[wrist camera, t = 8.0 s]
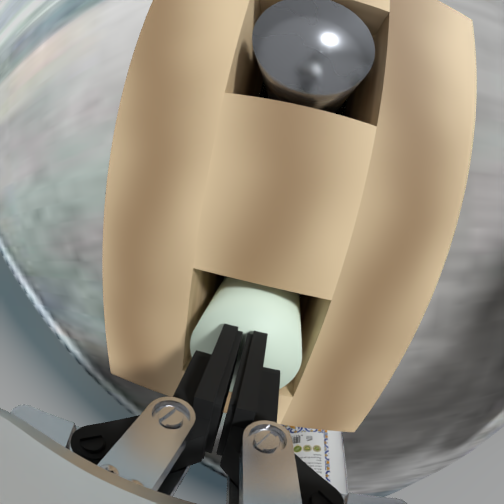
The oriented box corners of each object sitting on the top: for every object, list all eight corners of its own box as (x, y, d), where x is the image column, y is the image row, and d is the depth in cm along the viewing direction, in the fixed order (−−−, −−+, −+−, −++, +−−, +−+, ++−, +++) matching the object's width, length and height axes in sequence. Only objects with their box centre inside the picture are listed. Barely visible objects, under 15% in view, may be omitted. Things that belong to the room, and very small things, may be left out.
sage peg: (306, 257, 17) (317, 322, 10) (288, 320, 18) (285, 403, 11) (234, 241, 17) (195, 293, 10) (223, 304, 18) (186, 379, 11)
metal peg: (345, 70, 14) (378, 13, 7) (334, 134, 15) (367, 108, 8) (275, 55, 14) (264, -11, 7) (261, 117, 15) (240, 80, 8)
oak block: (413, 64, 13) (471, 20, 6) (338, 352, 20) (354, 432, 12) (214, 21, 14) (174, -44, 7) (163, 310, 21) (110, 372, 13)
